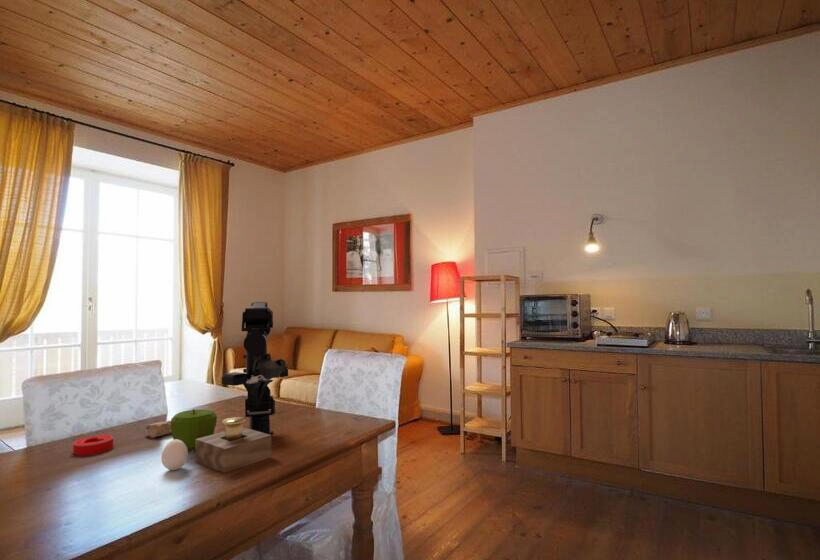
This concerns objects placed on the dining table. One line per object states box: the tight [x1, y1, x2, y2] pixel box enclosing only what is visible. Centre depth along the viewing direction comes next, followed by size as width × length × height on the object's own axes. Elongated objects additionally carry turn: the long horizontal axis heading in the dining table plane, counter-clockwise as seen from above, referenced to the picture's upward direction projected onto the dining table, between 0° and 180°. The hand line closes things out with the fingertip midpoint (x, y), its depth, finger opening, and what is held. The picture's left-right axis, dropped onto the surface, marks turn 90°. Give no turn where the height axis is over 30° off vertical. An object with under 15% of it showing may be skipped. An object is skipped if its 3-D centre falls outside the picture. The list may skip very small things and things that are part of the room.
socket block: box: [194, 426, 272, 474], centre depth 123 cm, size 14×14×6 cm
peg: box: [221, 416, 246, 441], centre depth 123 cm, size 6×6×6 cm
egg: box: [160, 439, 189, 471], centre depth 116 cm, size 6×6×8 cm
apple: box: [170, 408, 218, 452], centre depth 134 cm, size 12×12×11 cm
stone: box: [144, 420, 172, 439], centre depth 147 cm, size 8×10×4 cm
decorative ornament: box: [72, 434, 114, 456], centre depth 133 cm, size 10×10×3 cm
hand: (256, 405), depth 128 cm, fingers closed
